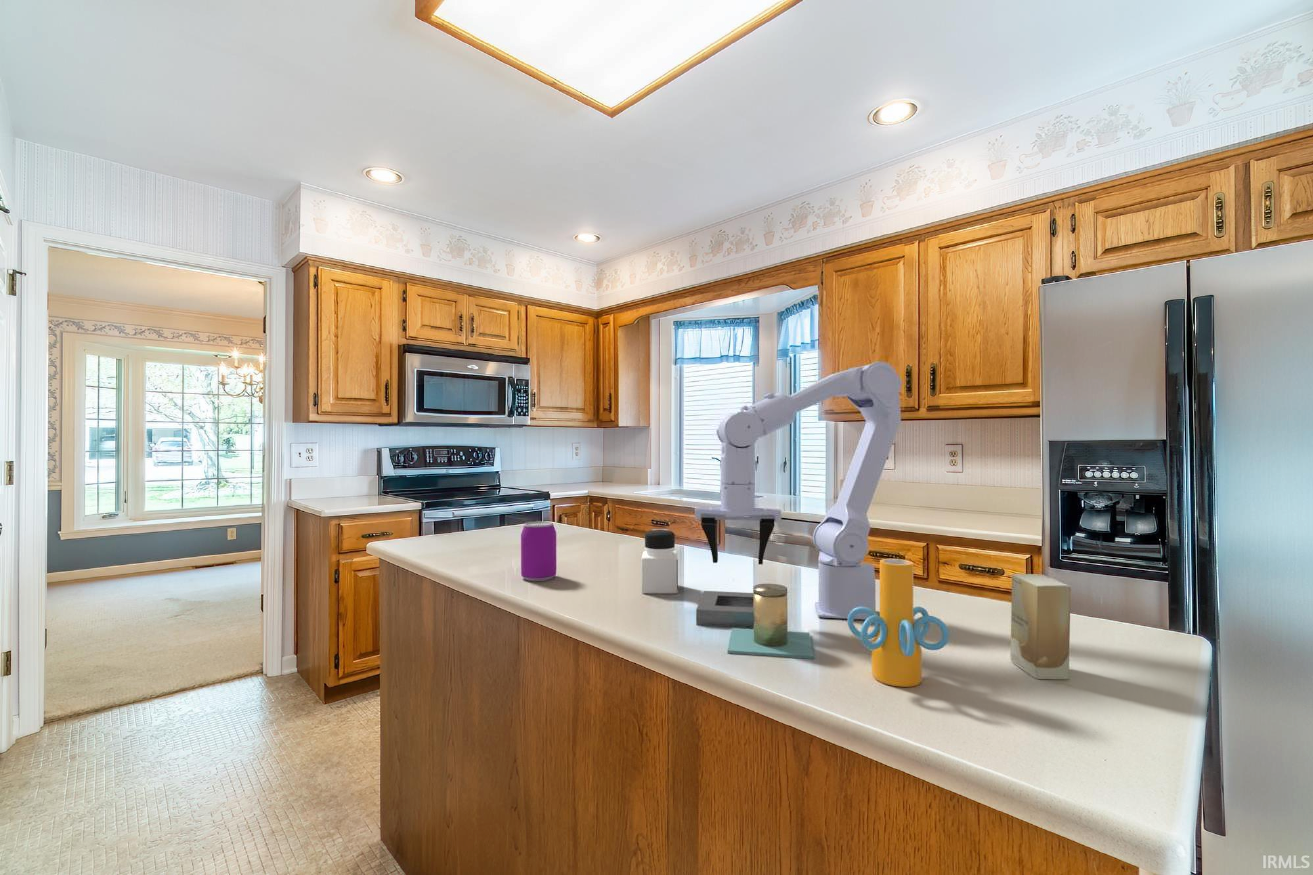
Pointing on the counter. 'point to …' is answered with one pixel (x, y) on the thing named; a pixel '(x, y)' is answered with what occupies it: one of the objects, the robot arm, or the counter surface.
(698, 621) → the housing
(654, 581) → the medicine bottle
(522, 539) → the beverage can
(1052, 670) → the skincare box
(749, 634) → the mat
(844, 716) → the counter surface
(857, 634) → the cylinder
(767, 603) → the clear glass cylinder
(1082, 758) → the counter surface
